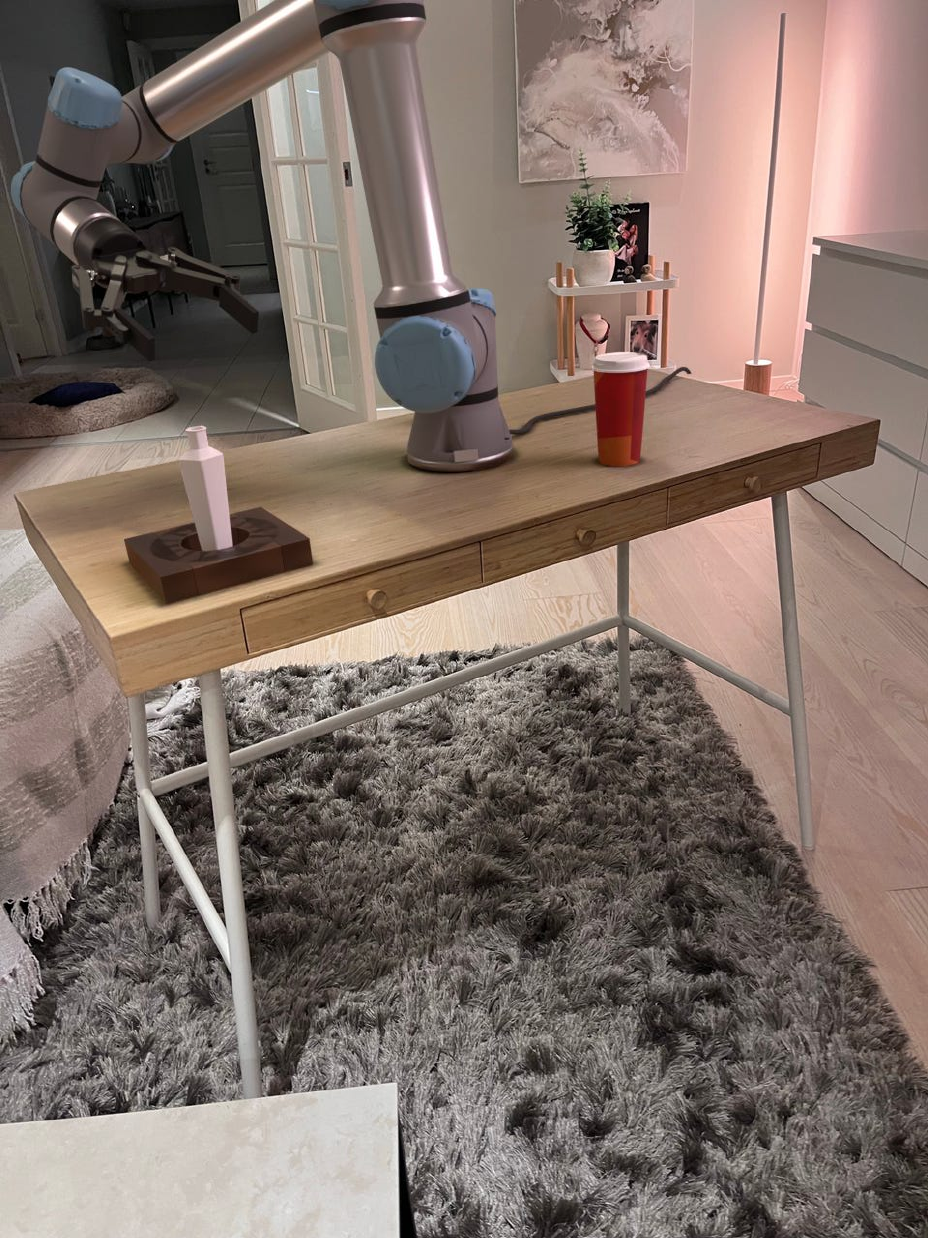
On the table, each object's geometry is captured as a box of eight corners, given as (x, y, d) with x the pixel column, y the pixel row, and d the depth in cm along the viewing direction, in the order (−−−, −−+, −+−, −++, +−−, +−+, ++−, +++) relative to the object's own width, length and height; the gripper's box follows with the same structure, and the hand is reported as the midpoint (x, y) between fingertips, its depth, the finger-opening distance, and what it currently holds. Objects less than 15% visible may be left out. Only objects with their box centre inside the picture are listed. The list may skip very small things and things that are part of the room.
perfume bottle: (224, 553, 105) (200, 420, 99) (248, 561, 103) (225, 425, 96) (190, 566, 102) (163, 430, 96) (214, 575, 100) (188, 435, 93)
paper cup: (628, 449, 133) (630, 348, 127) (658, 462, 127) (661, 356, 121) (580, 458, 131) (579, 355, 125) (608, 472, 124) (609, 364, 118)
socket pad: (264, 530, 112) (260, 506, 110) (313, 564, 101) (309, 538, 99) (129, 564, 104) (123, 538, 103) (166, 604, 93) (160, 576, 92)
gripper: (190, 257, 123) (291, 340, 115) (4, 294, 108) (105, 392, 100) (191, 201, 118) (297, 283, 110) (-5, 232, 103) (101, 330, 95)
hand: (205, 335), depth 105 cm, fingers open, 13 cm apart
